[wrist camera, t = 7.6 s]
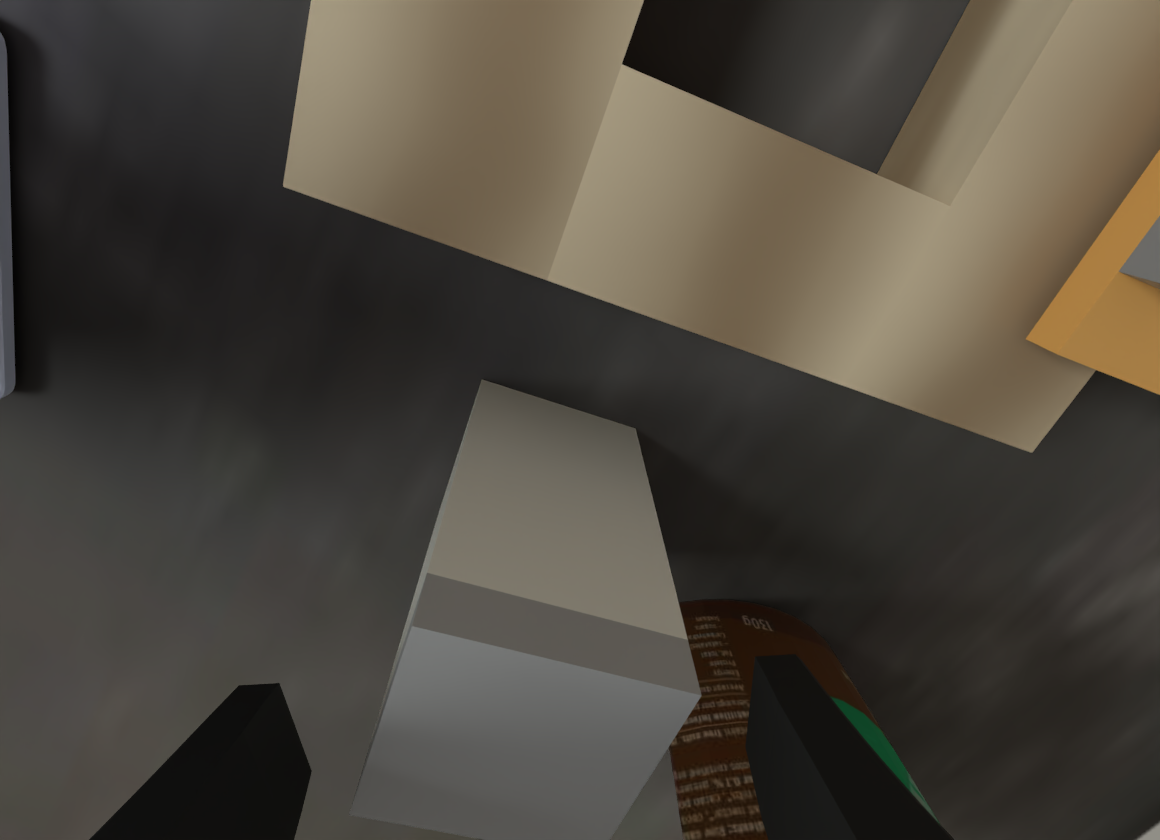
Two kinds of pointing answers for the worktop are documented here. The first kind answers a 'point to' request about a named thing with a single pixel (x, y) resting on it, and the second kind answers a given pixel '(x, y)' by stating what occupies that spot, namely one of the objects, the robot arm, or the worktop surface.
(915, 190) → the socket block
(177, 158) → the worktop surface
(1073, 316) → the shutter
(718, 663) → the food container
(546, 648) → the grey upright block
